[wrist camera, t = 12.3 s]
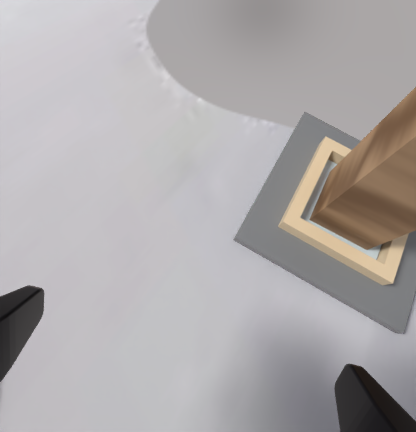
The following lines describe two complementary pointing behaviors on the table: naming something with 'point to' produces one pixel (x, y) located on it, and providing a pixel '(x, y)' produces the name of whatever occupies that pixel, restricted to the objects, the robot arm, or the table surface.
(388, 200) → the walnut column
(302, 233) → the gray square base plate
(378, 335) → the table surface
